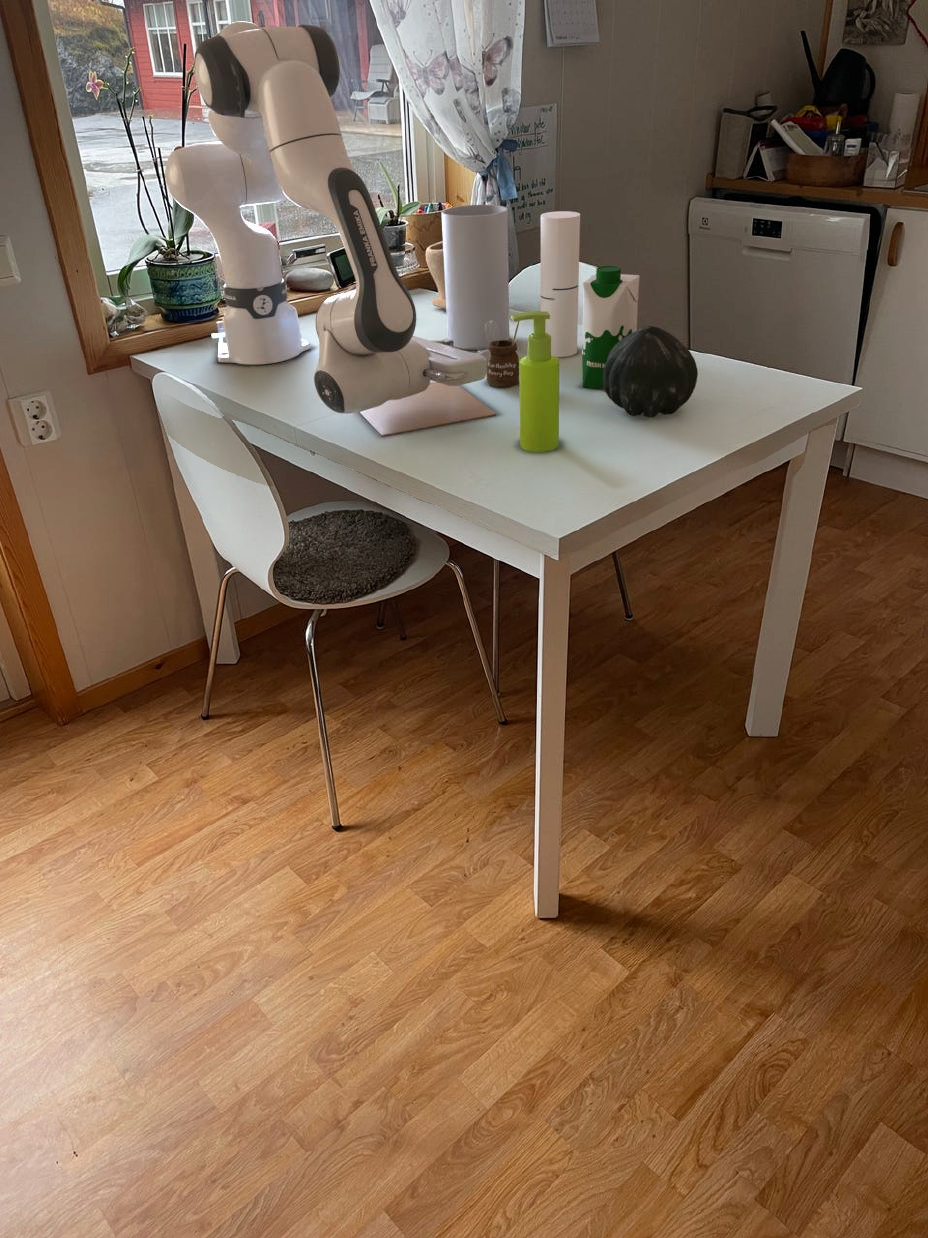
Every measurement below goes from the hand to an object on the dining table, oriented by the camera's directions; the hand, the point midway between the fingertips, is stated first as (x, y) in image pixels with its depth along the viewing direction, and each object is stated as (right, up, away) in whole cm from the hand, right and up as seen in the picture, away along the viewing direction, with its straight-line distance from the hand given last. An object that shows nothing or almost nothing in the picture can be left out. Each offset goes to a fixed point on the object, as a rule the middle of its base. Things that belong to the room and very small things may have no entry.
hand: (469, 348), depth 165 cm
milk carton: (+25, -5, +6) cm, 26 cm away
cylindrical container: (+18, +6, +23) cm, 29 cm away
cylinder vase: (+2, +10, +31) cm, 32 cm away
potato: (-24, +22, +51) cm, 61 cm away
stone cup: (-2, +23, +52) cm, 57 cm away
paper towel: (-9, -10, -1) cm, 13 cm away
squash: (+30, -12, -6) cm, 33 cm away
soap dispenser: (+10, -20, -17) cm, 28 cm away
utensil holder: (+6, -4, +9) cm, 11 cm away
